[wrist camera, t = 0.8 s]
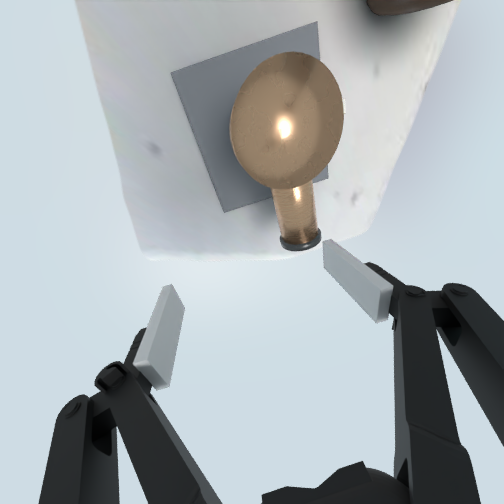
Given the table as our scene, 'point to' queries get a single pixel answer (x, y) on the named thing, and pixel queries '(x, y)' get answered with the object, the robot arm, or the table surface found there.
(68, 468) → the robot arm
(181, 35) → the table surface
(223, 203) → the duct stub
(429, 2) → the plant pot
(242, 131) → the copper flat bottle shape
